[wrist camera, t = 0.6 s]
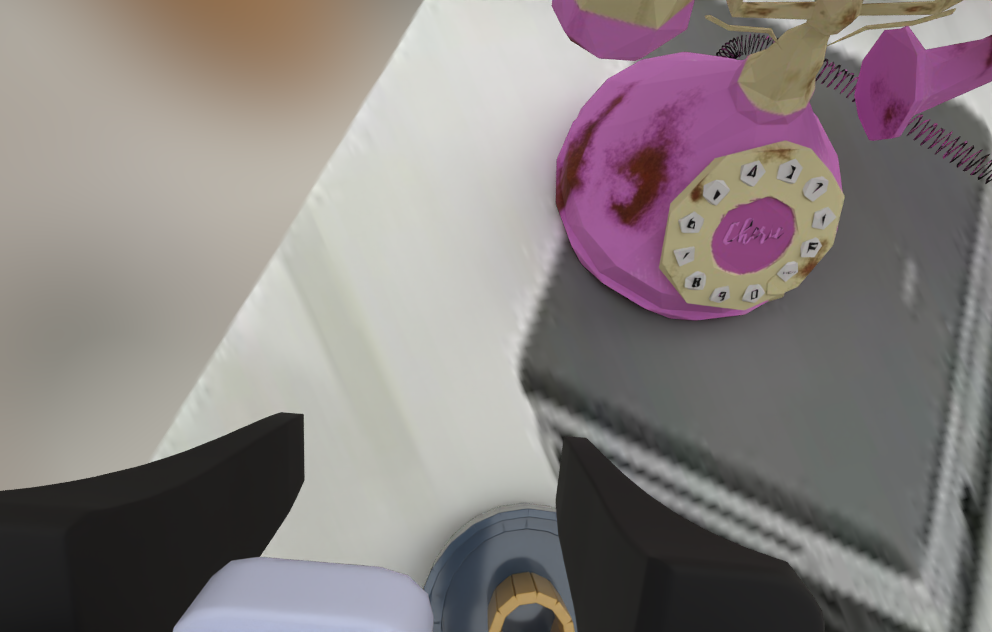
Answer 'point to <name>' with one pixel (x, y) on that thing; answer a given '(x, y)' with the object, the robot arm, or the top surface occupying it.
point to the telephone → (731, 146)
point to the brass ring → (527, 601)
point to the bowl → (497, 569)
